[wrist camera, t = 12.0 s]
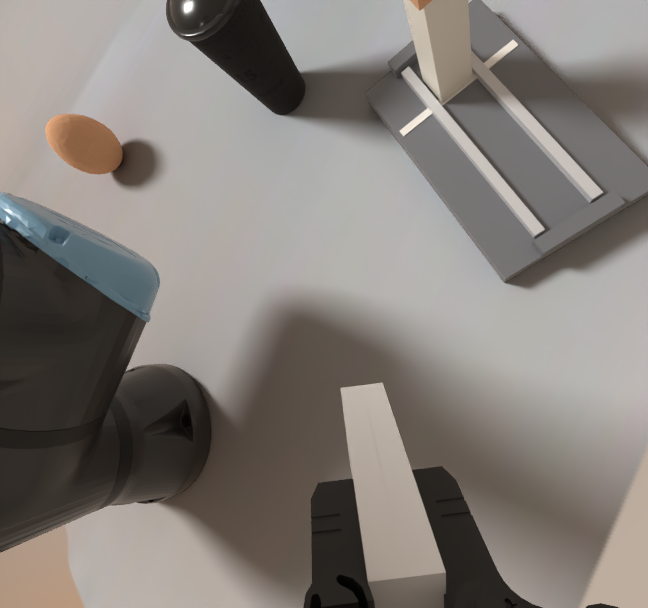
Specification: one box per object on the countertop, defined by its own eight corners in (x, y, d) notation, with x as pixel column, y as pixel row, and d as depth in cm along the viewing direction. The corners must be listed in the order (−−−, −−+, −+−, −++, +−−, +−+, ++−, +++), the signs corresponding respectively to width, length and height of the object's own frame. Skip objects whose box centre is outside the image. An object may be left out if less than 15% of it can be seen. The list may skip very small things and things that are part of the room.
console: (651, 192, 28) (670, 174, 25) (504, 282, 32) (506, 276, 29) (477, 14, 35) (476, -16, 32) (370, 105, 38) (360, 85, 35)
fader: (481, 77, 32) (477, -84, 20) (440, 110, 33) (412, -24, 21) (454, 47, 33) (434, -122, 21) (415, 80, 34) (375, -63, 22)
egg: (96, 155, 55) (26, 121, 46) (127, 127, 53) (59, 87, 44) (108, 192, 53) (36, 164, 45) (140, 165, 51) (72, 130, 42)
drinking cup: (252, 80, 45) (88, -103, 26) (309, 49, 42) (171, -181, 24) (262, 138, 43) (97, -14, 25) (322, 109, 40) (186, -86, 22)
